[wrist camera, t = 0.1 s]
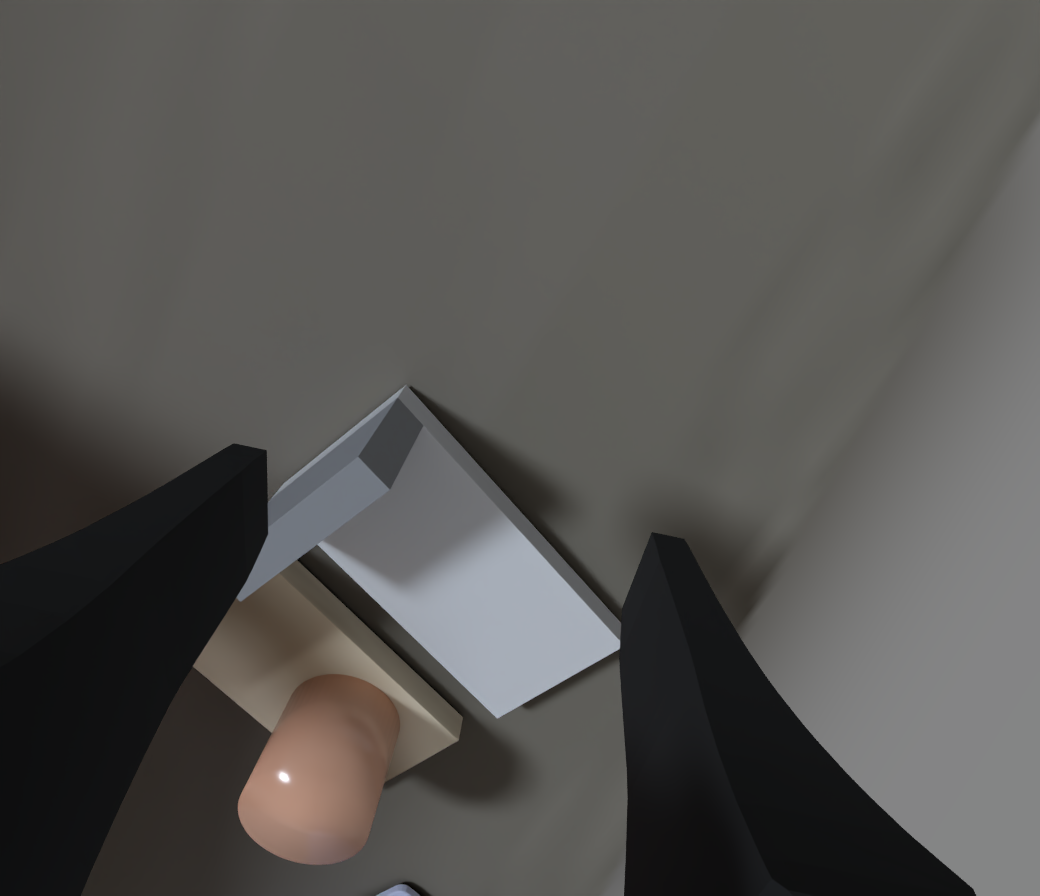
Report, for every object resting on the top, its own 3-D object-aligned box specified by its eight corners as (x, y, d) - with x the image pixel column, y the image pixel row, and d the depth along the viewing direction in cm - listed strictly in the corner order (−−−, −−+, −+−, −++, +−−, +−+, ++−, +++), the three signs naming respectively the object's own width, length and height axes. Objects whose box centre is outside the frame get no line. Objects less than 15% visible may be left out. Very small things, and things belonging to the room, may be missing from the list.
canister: (344, 775, 29) (306, 881, 25) (264, 707, 28) (210, 807, 24) (423, 729, 28) (397, 832, 24) (343, 655, 27) (300, 751, 22)
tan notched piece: (360, 777, 31) (317, 905, 26) (146, 593, 28) (49, 699, 22) (462, 717, 29) (438, 843, 24) (247, 512, 26) (165, 608, 21)
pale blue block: (500, 695, 28) (483, 819, 23) (284, 482, 25) (209, 573, 20) (622, 624, 26) (633, 742, 21) (406, 384, 23) (358, 456, 18)
